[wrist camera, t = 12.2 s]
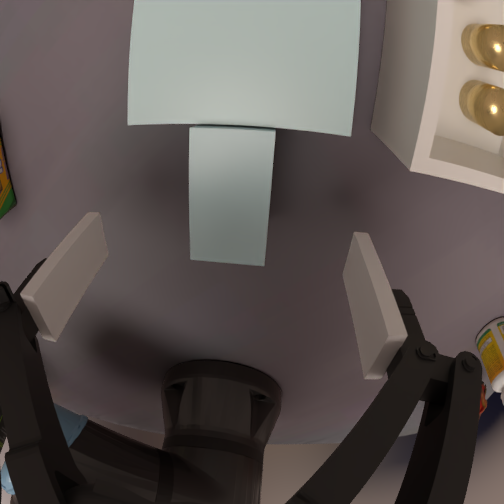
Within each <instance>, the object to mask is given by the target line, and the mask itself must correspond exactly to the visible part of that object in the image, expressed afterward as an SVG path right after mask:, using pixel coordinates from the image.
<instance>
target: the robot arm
mask: <svg viewBox="0 0 504 504" xmlns="http://www.w3.org/2000/svg"><path fill="white" fill-rule="evenodd" d="M108 255H109V253H108V249H107V244H106V240H105V235H104V231H103V226H102V221H101V216H100V213H99V212H88V213H87V214H86V215H85V216H84V217H83V218H82V219H81V220H80V221H79V223H78V224H77V225H76V226H75V227H74V228H73V229H72V230H71V231H70V233H69V234H68V235H67V236H66V237H65V238H64V239H63V241H62V242H61V243H60V244H59V245H58V246H57V248H56V249H55V250H54V251H53V252H52V254H51V255H50V256H49V257H48V258H45V259H43V260H42V261H41V262H39V263H38V264H37V265H36V266H35V267H34V269H33V270H32V272H31V273H30V274H29V275H28V276H27V278H26V279H25V280H24V281H23V283H22V284H21V285H20V286H19V288H18V289H17V290H16V292H15V293H14V294H13V293H12V291H11V288H10V286H9V284H8V283H7V282H3V281H1V282H0V404H1V410H2V415H3V421H4V425H5V430H6V435H7V439H8V443H9V448H10V449H9V452H7V453H5V462H4V464H3V467H2V470H1V471H0V504H1V489H2V488H3V489H4V490H5V491H6V492H7V493H9V494H12V497H11V501H10V504H260V500H261V486H262V471H263V456H264V449H265V446H266V444H267V442H268V440H269V437H270V435H271V433H272V430H273V428H274V426H275V423H276V421H277V419H278V416H279V414H280V410H281V390H280V388H279V386H278V385H277V384H276V383H275V382H274V381H273V380H272V379H271V378H269V377H268V376H266V375H265V374H263V373H261V372H259V371H256V370H254V369H251V368H248V367H245V366H242V365H238V364H234V363H228V362H221V361H206V360H205V361H191V362H186V363H182V364H179V365H176V366H174V367H173V368H171V369H170V370H169V371H168V372H167V373H166V375H165V379H164V382H163V386H162V390H161V398H162V408H163V418H164V427H165V438H164V443H163V447H162V450H160V449H158V448H155V447H152V446H150V445H147V444H144V443H142V442H139V441H136V440H134V439H131V438H129V437H127V436H124V435H122V434H119V433H117V432H115V431H112V430H110V429H108V428H106V427H104V426H101V425H99V424H97V423H95V422H93V421H91V420H89V419H88V417H87V416H85V415H78V414H76V413H74V412H72V411H70V410H67V409H65V408H63V407H61V406H59V405H57V404H54V403H53V400H52V397H51V393H50V389H49V386H48V382H47V378H46V374H45V370H44V366H43V362H42V357H41V353H40V348H39V343H38V340H37V338H36V336H35V335H36V334H37V332H38V330H39V332H40V333H41V335H42V337H43V339H46V340H50V341H53V342H56V341H57V339H58V338H59V336H60V334H61V332H62V330H63V329H64V327H65V325H66V323H67V322H68V320H69V318H70V316H71V315H72V313H73V311H74V309H75V308H76V306H77V304H78V303H79V301H80V299H81V298H82V296H83V294H84V293H85V291H86V290H87V288H88V286H89V285H90V283H91V282H92V280H93V278H94V277H95V275H96V274H97V272H98V271H99V269H100V267H101V266H102V264H103V263H104V261H105V260H106V258H107V257H108ZM342 277H343V281H344V285H345V289H346V293H347V298H348V302H349V307H350V311H351V316H352V320H353V325H354V330H355V335H356V339H357V344H358V349H359V355H360V360H361V365H362V371H363V376H364V379H381V378H382V377H383V375H384V374H385V372H386V371H387V375H388V380H387V382H386V383H385V385H384V386H383V388H382V389H381V390H380V392H379V394H378V395H377V396H376V398H375V399H374V401H373V402H372V403H371V405H370V406H369V408H368V409H367V410H366V412H365V413H364V414H363V416H362V417H361V418H360V420H359V421H358V422H357V424H356V425H355V426H354V428H353V429H352V430H351V431H350V433H349V434H348V435H347V436H346V438H345V439H344V440H343V441H342V443H341V444H340V445H339V446H338V447H337V449H336V450H335V451H334V452H333V453H332V454H331V456H330V457H329V458H328V459H327V460H326V462H324V464H323V465H322V466H321V467H320V468H319V469H318V470H317V471H316V473H315V474H314V475H313V476H312V477H311V478H310V479H309V480H308V481H307V482H306V483H305V484H304V485H303V486H302V487H301V488H300V489H299V490H298V491H297V492H296V493H295V495H293V497H292V498H291V499H289V500H288V501H287V503H285V504H350V503H351V502H352V500H353V499H354V498H355V497H356V495H357V494H358V493H359V492H360V490H361V489H362V488H363V486H364V485H365V484H366V482H367V481H368V480H369V478H370V477H371V476H372V474H373V473H374V472H375V470H376V469H377V467H378V466H379V464H380V463H381V462H382V460H383V459H384V457H385V456H386V454H387V453H388V451H389V450H390V448H391V447H392V445H393V444H394V442H395V440H396V439H397V437H398V436H399V434H400V432H401V431H402V429H403V427H404V426H405V424H406V422H407V421H408V419H409V417H410V415H411V414H412V412H413V410H414V408H415V407H416V405H417V403H418V401H419V400H421V401H425V405H424V409H423V414H422V418H421V422H420V426H419V430H418V434H417V437H416V441H415V445H414V448H413V451H412V455H411V458H410V461H409V465H408V468H407V471H406V474H405V477H404V480H403V482H402V485H401V488H400V491H399V493H398V496H397V499H396V501H395V504H463V503H464V499H465V495H466V491H467V486H468V483H469V478H470V473H471V468H472V462H473V457H474V451H475V445H476V438H477V430H478V421H479V412H480V400H481V382H482V366H481V363H480V361H479V359H478V358H477V357H476V356H475V355H474V354H472V353H470V352H466V351H464V352H460V353H459V354H458V355H457V356H456V358H451V357H448V356H444V355H441V354H439V353H438V350H437V349H436V347H435V346H434V345H433V344H431V343H430V342H428V341H425V338H424V335H423V333H422V330H421V327H420V325H419V322H418V319H417V317H416V316H415V312H414V309H413V308H412V304H411V302H410V299H409V298H408V296H407V295H406V294H405V293H404V292H403V291H402V290H396V289H391V287H390V285H389V282H388V280H387V277H386V275H385V272H384V270H383V267H382V265H381V262H380V260H379V257H378V255H377V253H376V250H375V248H374V245H373V243H372V241H371V239H370V236H369V234H368V233H363V232H354V233H353V237H352V241H351V245H350V248H349V252H348V256H347V259H346V263H345V266H344V270H343V273H342ZM1 487H2V488H1Z"/></svg>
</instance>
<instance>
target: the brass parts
mask: <svg viewBox="0 0 504 504" xmlns="http://www.w3.org/2000/svg"><path fill="white" fill-rule="evenodd" d="M461 44H462V48H463V51H464V53H465V55H466V56H467V57H468V59H469V60H470V61H471V62H472V63H474V64H476V65H478V66H482V67H486V68H490V69H494V70H498V71H502V72H504V25H499V24H469V25H467V26H466V27H465V28H464V29H463V31H462V35H461ZM459 105H460V109H461V111H462V113H463V115H464V116H465V117H466V118H467V119H468V120H470V121H472V122H474V123H476V124H477V125H479V126H481V127H483V128H484V129H486V130H488V131H490V132H491V133H493V134H495V135H498V136H504V89H503V88H501V87H498V86H495V85H492V84H489V83H485V82H482V81H479V80H470V81H468V82H466V83H465V84H464V85H463V87H462V88H461V90H460V94H459Z"/></svg>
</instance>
